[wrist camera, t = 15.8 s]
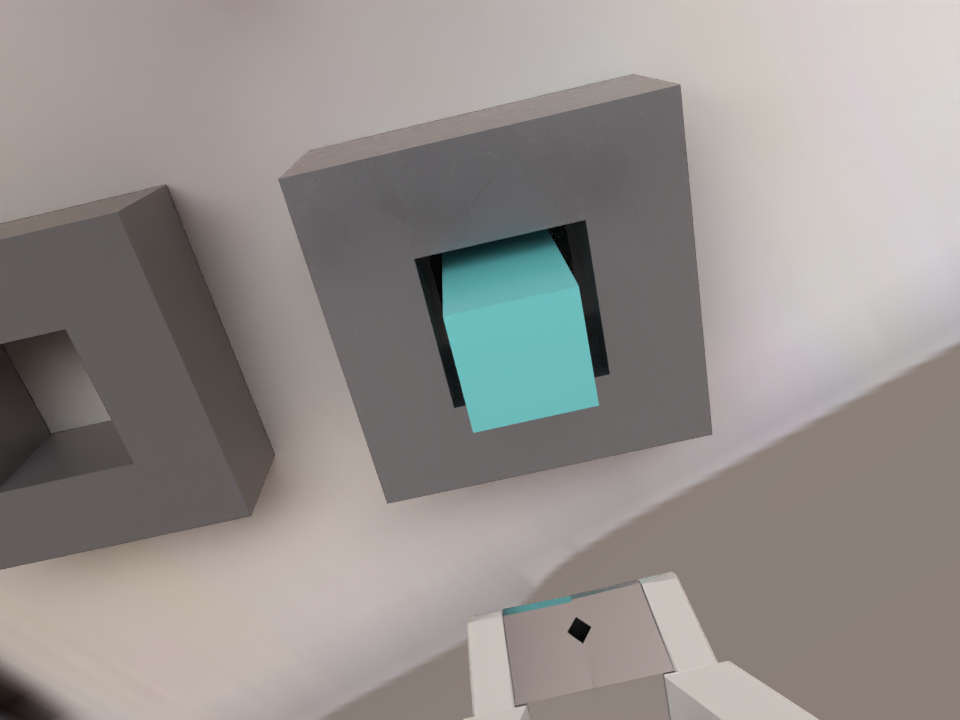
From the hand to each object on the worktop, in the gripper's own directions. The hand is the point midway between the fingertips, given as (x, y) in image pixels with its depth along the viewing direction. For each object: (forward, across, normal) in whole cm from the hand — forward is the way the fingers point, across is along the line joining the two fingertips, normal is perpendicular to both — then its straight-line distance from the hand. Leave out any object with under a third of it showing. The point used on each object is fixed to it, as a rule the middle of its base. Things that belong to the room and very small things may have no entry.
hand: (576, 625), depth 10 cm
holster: (+18, +15, 0) cm, 23 cm away
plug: (+17, -1, 0) cm, 17 cm away
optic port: (+17, -1, 0) cm, 17 cm away
